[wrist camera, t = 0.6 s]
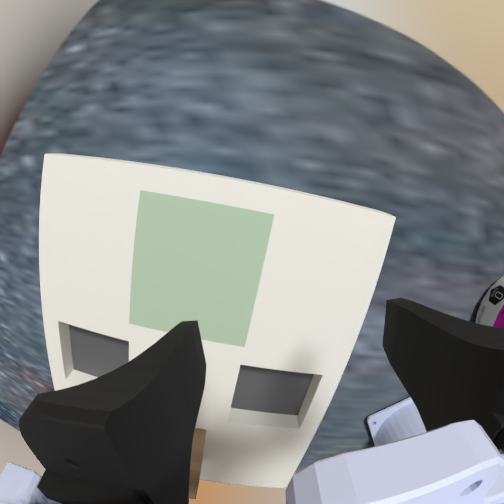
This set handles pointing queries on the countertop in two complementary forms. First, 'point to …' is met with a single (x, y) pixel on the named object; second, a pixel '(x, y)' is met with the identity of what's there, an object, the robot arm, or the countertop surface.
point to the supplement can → (492, 306)
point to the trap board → (210, 295)
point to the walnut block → (196, 460)
